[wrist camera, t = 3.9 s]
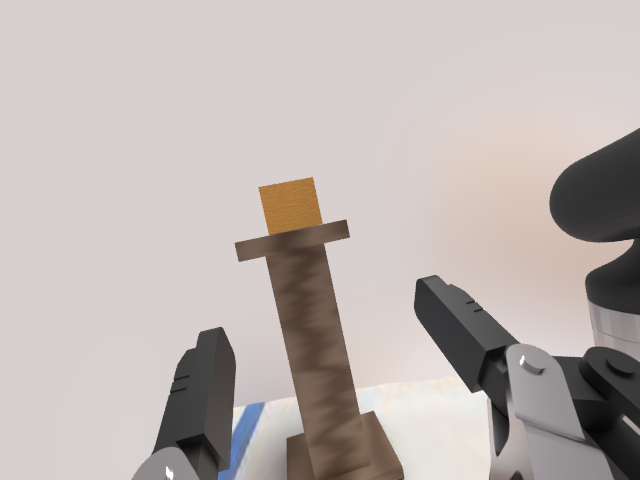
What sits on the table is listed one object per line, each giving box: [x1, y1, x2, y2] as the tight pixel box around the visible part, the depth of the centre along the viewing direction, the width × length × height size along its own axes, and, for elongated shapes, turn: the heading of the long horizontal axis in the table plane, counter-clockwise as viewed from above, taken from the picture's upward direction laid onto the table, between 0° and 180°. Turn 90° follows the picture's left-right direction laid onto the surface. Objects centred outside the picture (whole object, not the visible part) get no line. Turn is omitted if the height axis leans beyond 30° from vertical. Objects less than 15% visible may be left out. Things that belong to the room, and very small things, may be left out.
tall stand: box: [235, 220, 404, 480], centre depth 35 cm, size 14×13×32 cm
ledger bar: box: [259, 177, 322, 235], centre depth 29 cm, size 4×20×4 cm, turn 8°
